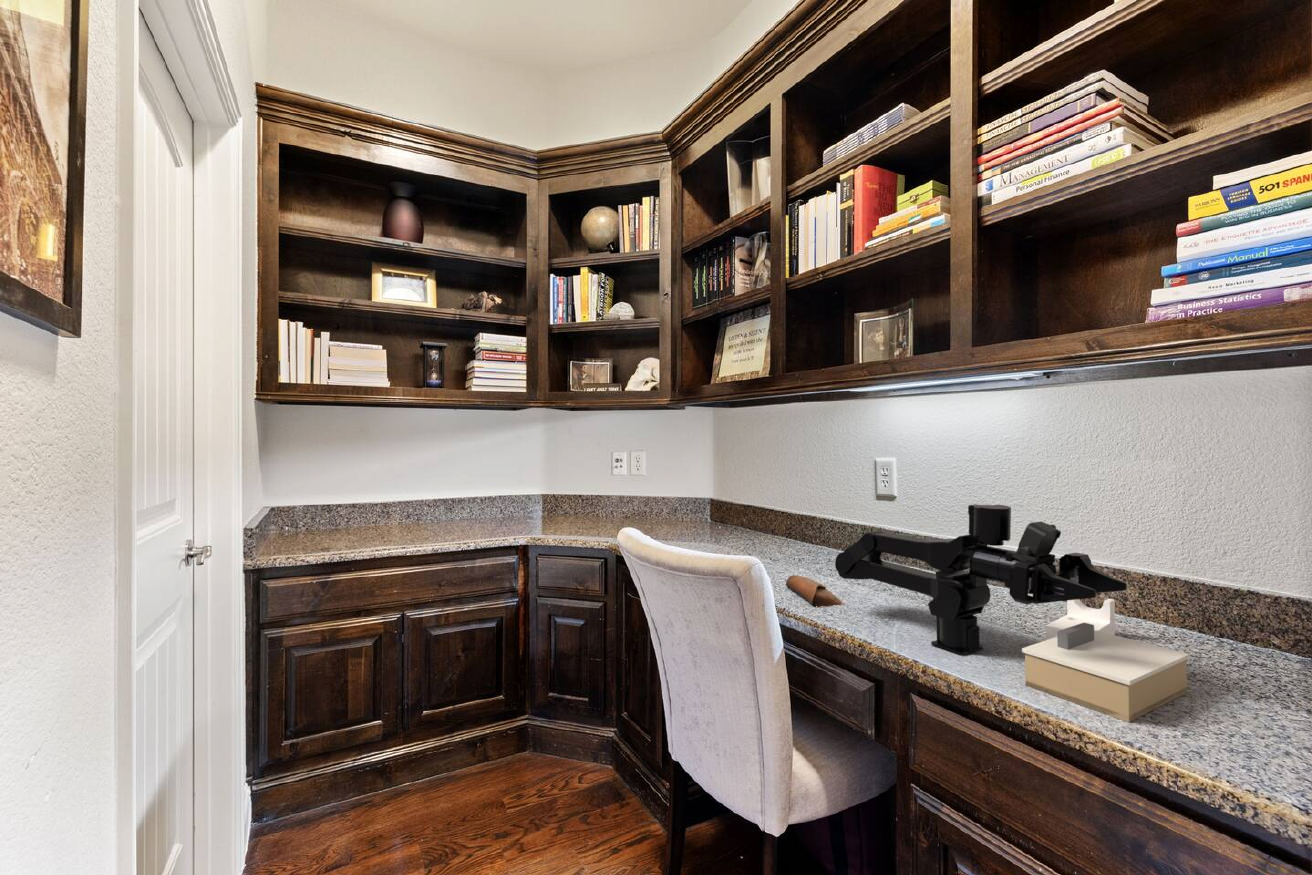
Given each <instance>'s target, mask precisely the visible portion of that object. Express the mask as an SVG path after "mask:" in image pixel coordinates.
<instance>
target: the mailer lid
mask: <svg viewBox="0 0 1312 875" xmlns="http://www.w3.org/2000/svg"><path fill="white" fill-rule="evenodd" d="M1021 652H1022V653H1024V654H1030V655H1033V656H1036V657H1039V658H1043V659H1046V660H1049V661H1052V662H1056V663H1059V664H1062V665H1065V666H1068V667H1072V668H1075V669H1078V670H1081V671H1085V672H1088V673H1091V674H1094V675H1098V676H1101V677H1104V678H1107V679H1110V680H1114V681H1117V682H1120V683H1123V684H1127V685H1132V684H1134V683H1136V682H1139V681H1141V680H1143V679H1145V678H1147V677H1150V676H1152V675H1154V674H1156V673H1158V672H1160V671H1163V670H1165V669H1167V668H1169V667H1171V666H1174V665H1176V664H1178V663H1180V662H1182V661H1185V660H1189V659H1190V658H1191V654H1190V653H1187V652H1182V651H1181V650H1180V651H1179V650H1175V649H1171V648H1167V647H1163V646H1159V645H1156V644H1151V643H1147V642H1144V641H1139V640H1135V639H1132V638H1128V637H1124V636H1123V637H1122V636H1120V635H1116V634H1115V635H1112V634H1108V633H1104V632H1100V631H1096V630H1094V625H1092V624H1088V623H1081V624H1078V625H1075V626H1072V627H1069V628H1066V629H1063V630H1060V631H1057V637H1054V638H1051V639H1045V640H1043V641H1040V642H1038V643H1037V642H1036V643H1034V644H1031V645H1028V646H1025V647H1022V648H1021Z"/></svg>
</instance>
